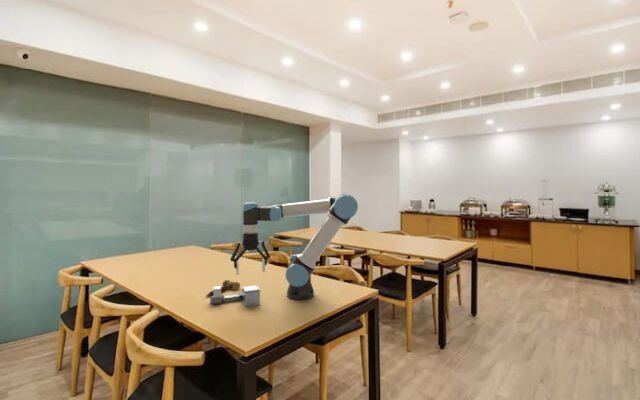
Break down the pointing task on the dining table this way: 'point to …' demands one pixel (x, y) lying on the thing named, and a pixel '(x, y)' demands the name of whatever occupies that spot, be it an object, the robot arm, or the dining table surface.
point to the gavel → (227, 286)
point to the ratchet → (223, 297)
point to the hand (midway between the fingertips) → (250, 273)
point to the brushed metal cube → (251, 295)
